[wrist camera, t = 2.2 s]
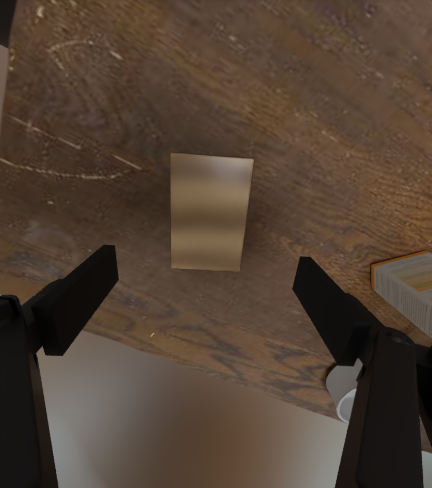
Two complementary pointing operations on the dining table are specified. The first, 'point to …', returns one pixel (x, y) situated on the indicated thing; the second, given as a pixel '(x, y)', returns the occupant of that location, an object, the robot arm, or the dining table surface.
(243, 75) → the dining table surface
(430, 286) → the supplement box
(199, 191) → the brown wooden block
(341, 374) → the saucepan
